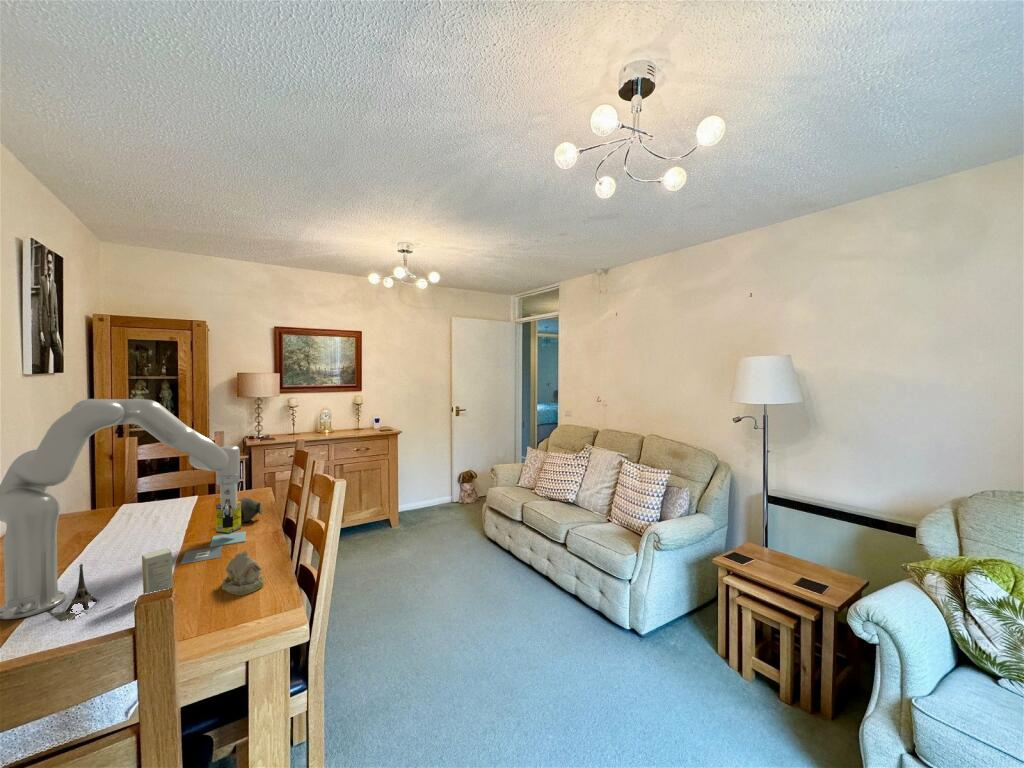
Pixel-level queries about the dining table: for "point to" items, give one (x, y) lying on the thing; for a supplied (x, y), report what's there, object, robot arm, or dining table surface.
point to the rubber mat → (228, 539)
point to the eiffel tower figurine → (75, 600)
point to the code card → (202, 555)
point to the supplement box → (236, 519)
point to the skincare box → (157, 571)
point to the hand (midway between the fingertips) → (228, 523)
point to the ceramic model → (243, 575)
